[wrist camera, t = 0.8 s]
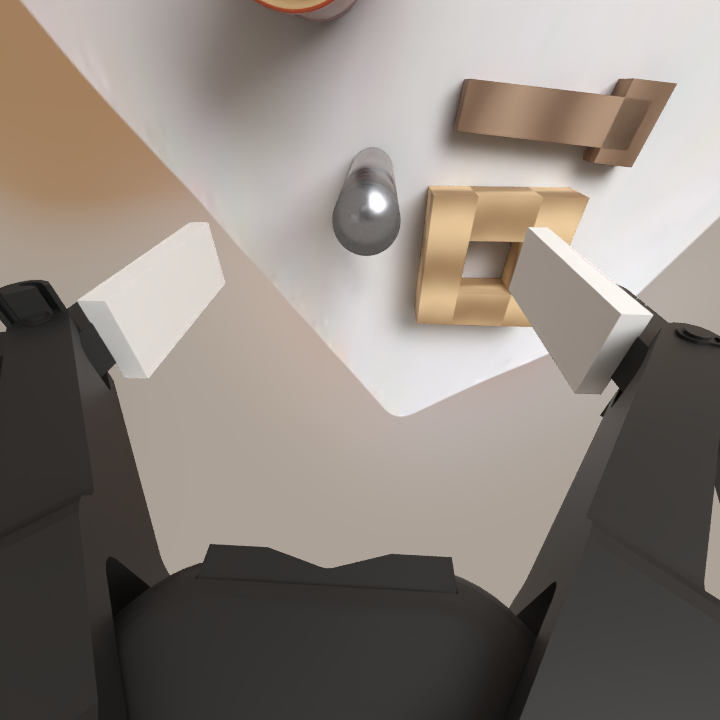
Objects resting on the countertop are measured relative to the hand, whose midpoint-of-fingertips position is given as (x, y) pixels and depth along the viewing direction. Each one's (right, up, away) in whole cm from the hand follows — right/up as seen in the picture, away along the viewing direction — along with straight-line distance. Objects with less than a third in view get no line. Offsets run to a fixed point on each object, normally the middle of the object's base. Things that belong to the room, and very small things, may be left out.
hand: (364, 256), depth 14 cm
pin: (+1, +12, +14) cm, 18 cm away
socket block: (+12, +6, +18) cm, 22 cm away
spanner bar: (+14, +15, +11) cm, 23 cm away
